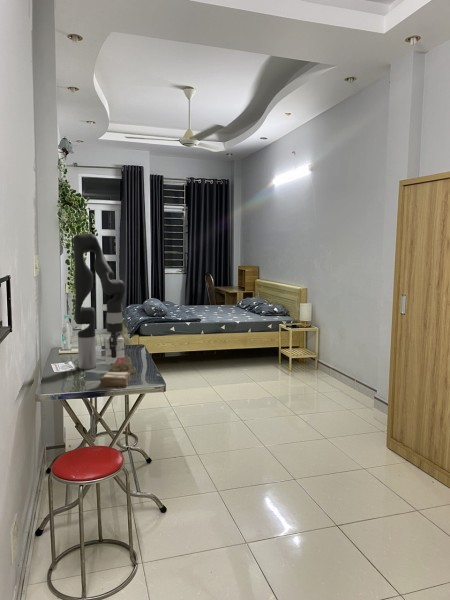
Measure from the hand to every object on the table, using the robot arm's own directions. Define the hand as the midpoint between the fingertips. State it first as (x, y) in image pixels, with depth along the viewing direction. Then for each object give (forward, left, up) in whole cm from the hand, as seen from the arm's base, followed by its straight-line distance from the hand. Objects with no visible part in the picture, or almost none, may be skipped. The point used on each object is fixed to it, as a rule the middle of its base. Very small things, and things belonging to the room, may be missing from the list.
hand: (115, 356), depth 224 cm
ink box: (0, 0, -3) cm, 3 cm away
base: (0, 0, -13) cm, 13 cm away
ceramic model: (-19, -1, -14) cm, 24 cm away
